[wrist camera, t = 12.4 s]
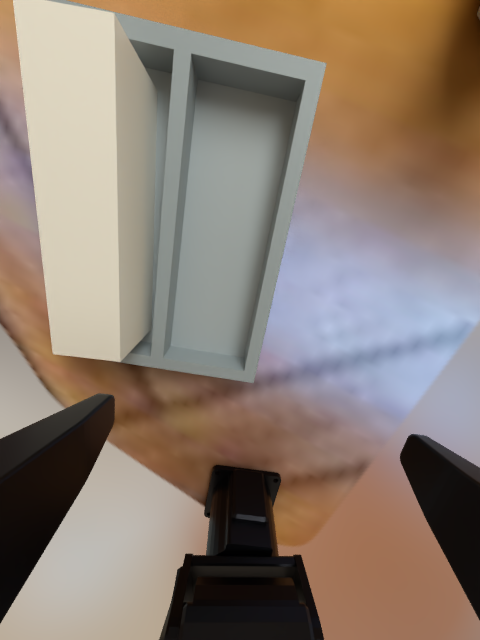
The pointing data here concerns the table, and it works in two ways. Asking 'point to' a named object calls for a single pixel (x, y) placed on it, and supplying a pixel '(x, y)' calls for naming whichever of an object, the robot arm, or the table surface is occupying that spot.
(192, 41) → the divided grey tray
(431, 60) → the table surface
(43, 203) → the cream rectangular block
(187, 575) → the robot arm
